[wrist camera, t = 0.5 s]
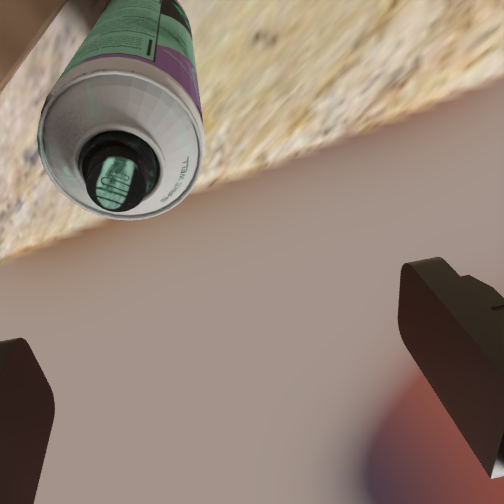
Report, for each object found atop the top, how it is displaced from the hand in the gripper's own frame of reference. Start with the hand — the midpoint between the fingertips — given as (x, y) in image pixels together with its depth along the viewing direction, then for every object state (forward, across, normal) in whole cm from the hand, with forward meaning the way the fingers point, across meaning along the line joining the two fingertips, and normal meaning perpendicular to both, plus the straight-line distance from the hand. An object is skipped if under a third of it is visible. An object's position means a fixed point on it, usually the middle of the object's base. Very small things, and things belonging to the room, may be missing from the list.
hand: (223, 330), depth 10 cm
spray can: (+25, +2, -3) cm, 26 cm away
